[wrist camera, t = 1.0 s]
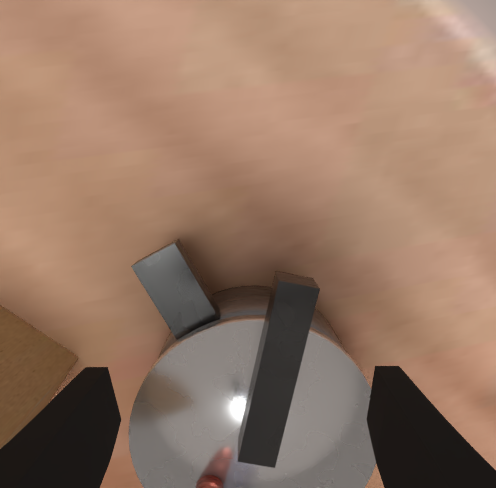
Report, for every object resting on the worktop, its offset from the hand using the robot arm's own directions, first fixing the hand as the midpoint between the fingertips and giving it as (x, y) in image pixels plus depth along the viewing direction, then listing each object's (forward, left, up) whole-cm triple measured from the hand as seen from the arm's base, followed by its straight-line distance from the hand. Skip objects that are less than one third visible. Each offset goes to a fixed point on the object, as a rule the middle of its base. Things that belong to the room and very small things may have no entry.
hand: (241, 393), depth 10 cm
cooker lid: (-7, +3, -11) cm, 13 cm away
